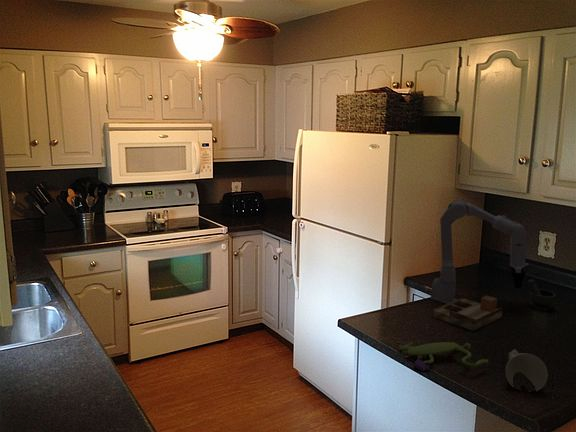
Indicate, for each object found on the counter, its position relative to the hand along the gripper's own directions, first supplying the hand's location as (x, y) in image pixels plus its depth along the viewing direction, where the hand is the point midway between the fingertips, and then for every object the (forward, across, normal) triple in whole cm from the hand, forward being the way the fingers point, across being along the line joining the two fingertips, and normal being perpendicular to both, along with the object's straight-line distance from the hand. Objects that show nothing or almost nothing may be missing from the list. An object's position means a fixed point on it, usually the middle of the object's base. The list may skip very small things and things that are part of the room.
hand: (517, 284), depth 217 cm
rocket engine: (+10, -63, 0) cm, 64 cm away
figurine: (+8, -61, +24) cm, 66 cm away
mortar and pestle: (+12, +5, -8) cm, 15 cm away
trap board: (+8, -19, +19) cm, 28 cm away
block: (+6, -14, +11) cm, 19 cm away
